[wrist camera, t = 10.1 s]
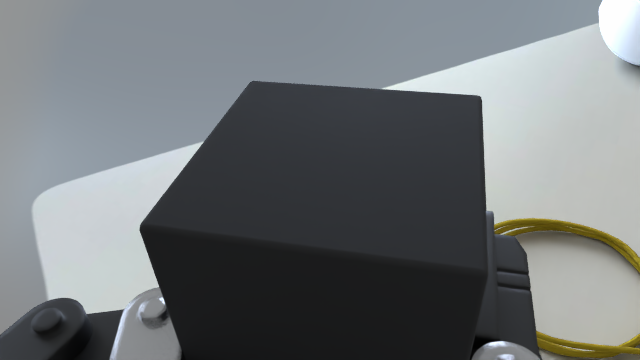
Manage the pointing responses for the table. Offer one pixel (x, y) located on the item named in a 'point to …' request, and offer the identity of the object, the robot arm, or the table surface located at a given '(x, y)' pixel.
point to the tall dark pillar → (328, 228)
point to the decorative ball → (621, 28)
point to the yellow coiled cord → (557, 225)
